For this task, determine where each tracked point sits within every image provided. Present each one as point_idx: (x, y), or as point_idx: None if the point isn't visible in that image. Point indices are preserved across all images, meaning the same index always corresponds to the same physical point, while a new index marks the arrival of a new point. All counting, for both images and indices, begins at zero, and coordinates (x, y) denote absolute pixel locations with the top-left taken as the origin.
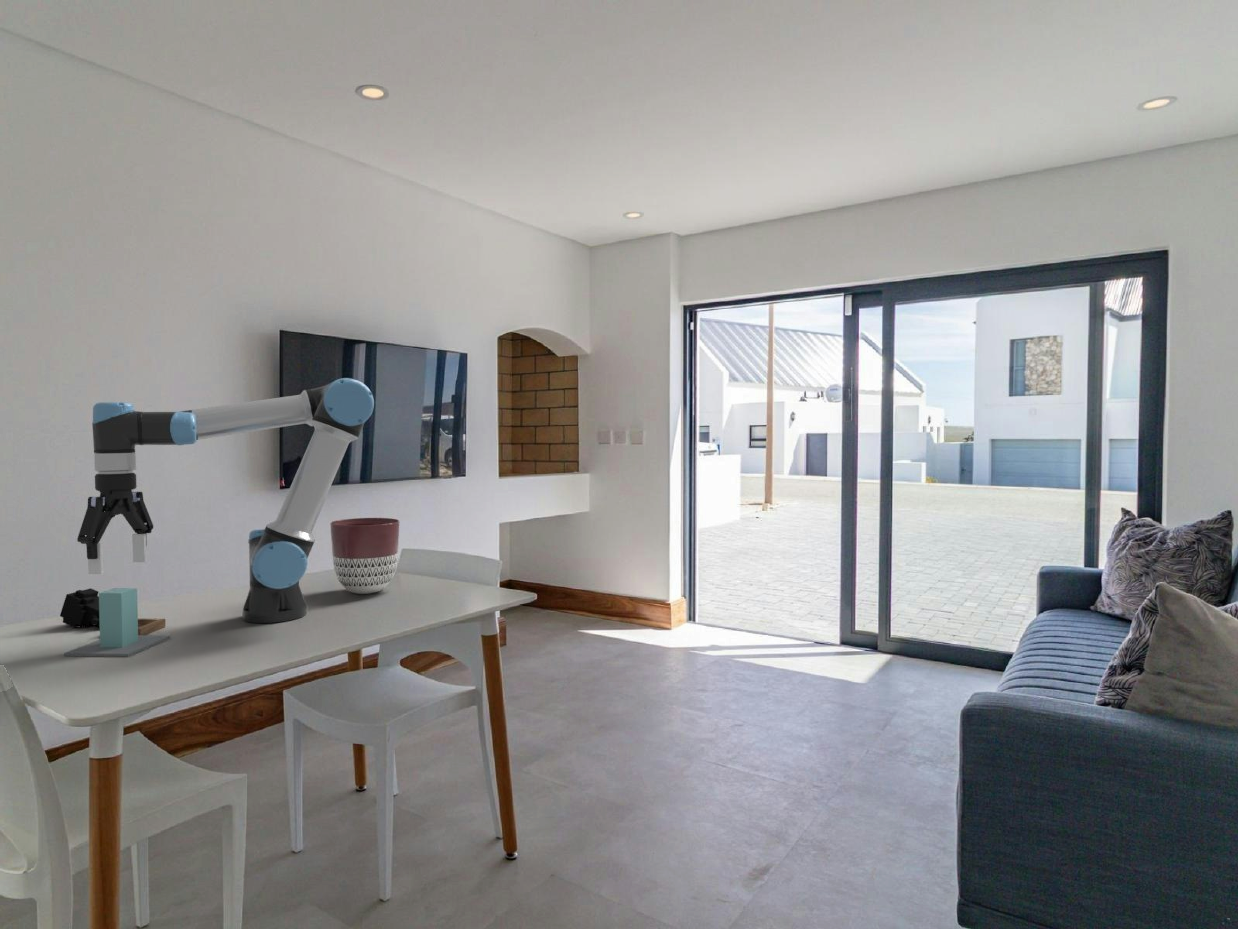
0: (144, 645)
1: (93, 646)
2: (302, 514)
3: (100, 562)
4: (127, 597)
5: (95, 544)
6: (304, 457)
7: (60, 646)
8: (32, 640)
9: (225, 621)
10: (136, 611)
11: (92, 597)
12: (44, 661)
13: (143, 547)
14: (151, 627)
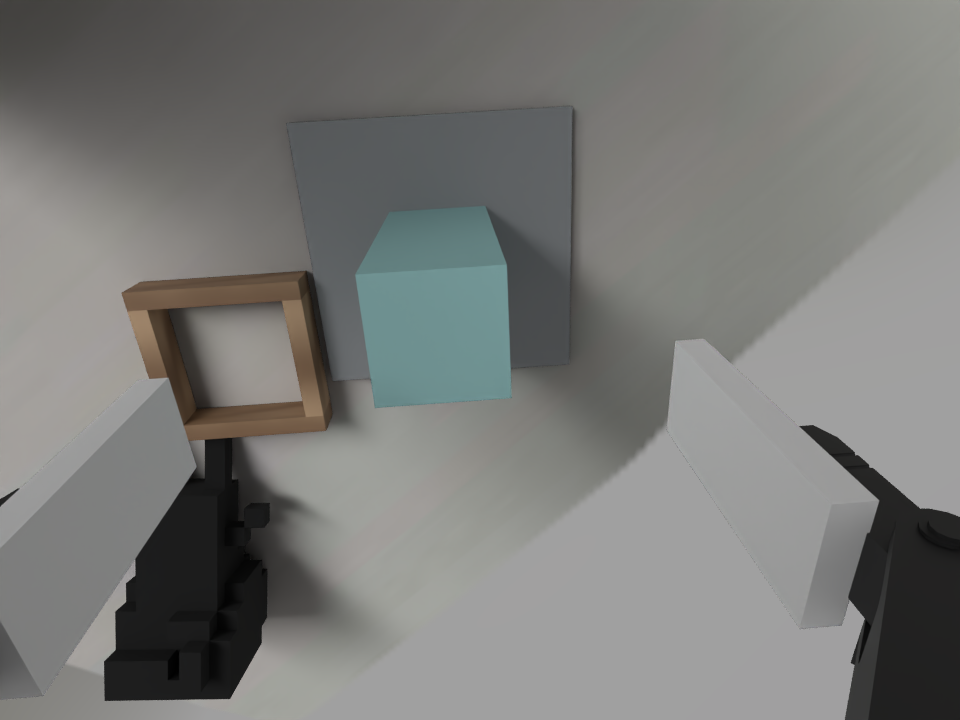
0: (448, 130)
1: None
2: None
3: (752, 384)
4: (448, 259)
5: (892, 526)
6: None
7: (463, 454)
8: (413, 575)
9: None
10: (382, 240)
11: (168, 632)
12: (626, 373)
13: (92, 464)
14: (227, 281)
